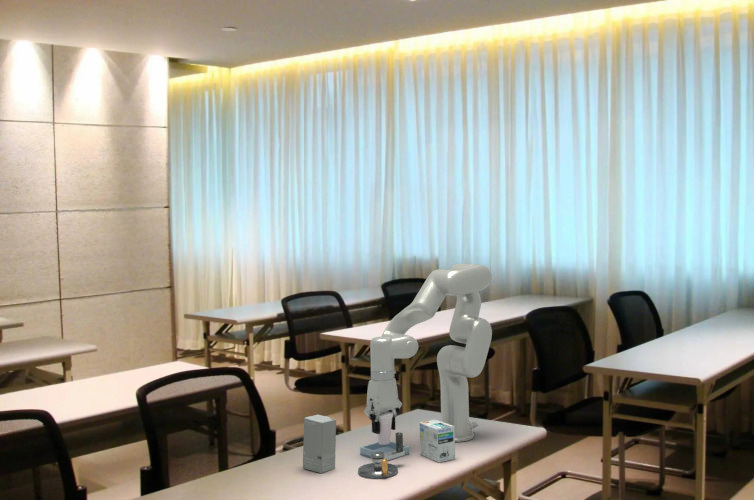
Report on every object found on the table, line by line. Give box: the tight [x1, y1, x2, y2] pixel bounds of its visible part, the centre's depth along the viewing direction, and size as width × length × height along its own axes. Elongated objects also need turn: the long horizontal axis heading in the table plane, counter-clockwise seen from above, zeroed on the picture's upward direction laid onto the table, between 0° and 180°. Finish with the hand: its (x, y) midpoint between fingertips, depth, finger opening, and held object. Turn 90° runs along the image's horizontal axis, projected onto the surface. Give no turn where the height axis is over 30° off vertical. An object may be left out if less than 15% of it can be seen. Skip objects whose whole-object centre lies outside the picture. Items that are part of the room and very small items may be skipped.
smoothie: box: [375, 411, 393, 445], centre depth 259 cm, size 6×6×14 cm
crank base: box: [357, 459, 399, 480], centre depth 242 cm, size 12×12×6 cm
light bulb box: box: [419, 419, 456, 464], centre depth 255 cm, size 11×7×11 cm, turn 31°
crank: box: [370, 431, 405, 463], centre depth 245 cm, size 12×4×7 cm, turn 131°
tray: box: [359, 440, 410, 462], centre depth 260 cm, size 11×11×2 cm
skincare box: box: [302, 414, 337, 474], centre depth 247 cm, size 8×7×16 cm
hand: (383, 430), depth 259 cm, fingers closed on smoothie, 6 cm apart
